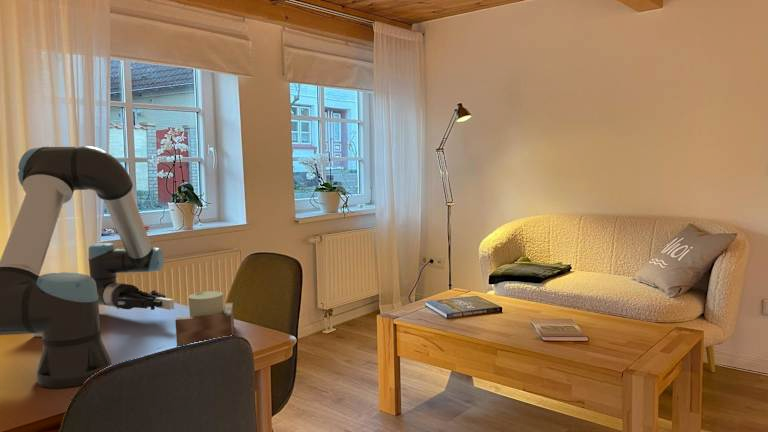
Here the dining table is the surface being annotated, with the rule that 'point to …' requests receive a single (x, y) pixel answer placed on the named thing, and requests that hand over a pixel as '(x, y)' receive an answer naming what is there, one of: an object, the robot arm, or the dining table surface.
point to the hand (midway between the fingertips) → (171, 304)
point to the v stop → (204, 326)
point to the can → (206, 303)
